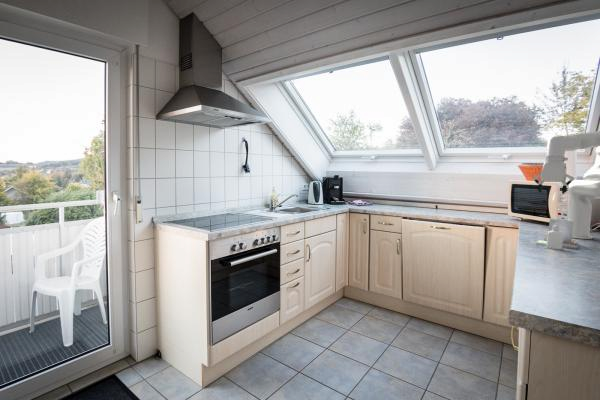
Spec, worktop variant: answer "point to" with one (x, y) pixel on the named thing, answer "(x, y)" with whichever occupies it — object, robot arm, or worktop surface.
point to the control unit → (563, 229)
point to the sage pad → (542, 242)
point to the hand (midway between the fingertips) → (551, 192)
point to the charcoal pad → (569, 246)
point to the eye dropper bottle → (555, 238)
